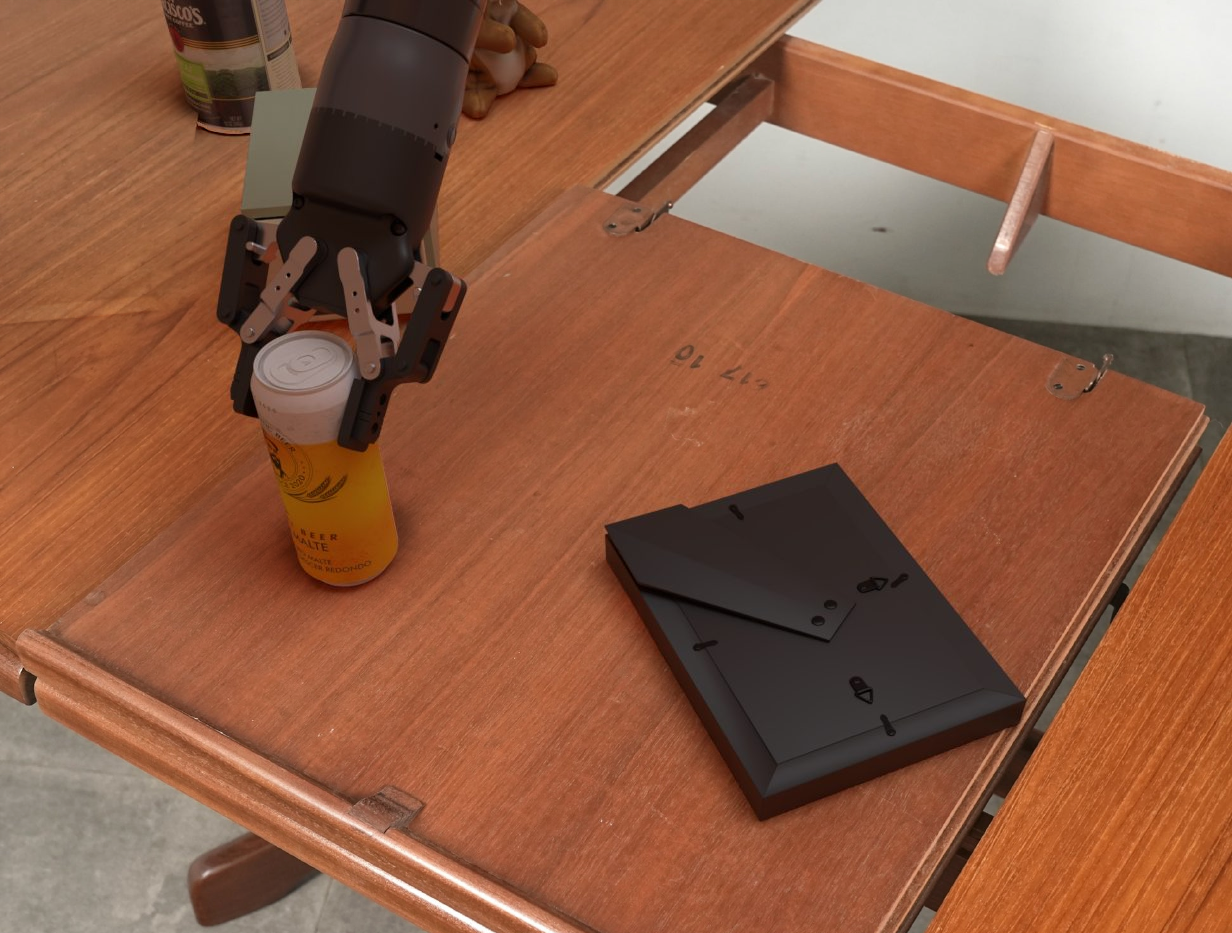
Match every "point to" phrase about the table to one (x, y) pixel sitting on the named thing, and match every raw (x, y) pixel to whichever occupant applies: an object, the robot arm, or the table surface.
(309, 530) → the beer can
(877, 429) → the table surface
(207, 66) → the coffee can
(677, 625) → the picture frame
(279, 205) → the cabinet
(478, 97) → the stuffed squirrel
